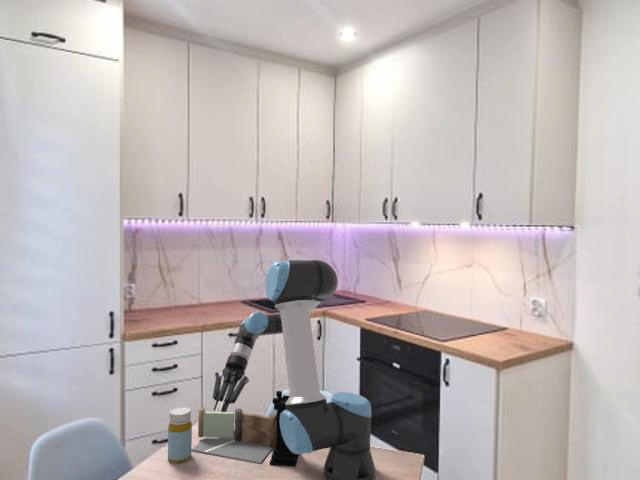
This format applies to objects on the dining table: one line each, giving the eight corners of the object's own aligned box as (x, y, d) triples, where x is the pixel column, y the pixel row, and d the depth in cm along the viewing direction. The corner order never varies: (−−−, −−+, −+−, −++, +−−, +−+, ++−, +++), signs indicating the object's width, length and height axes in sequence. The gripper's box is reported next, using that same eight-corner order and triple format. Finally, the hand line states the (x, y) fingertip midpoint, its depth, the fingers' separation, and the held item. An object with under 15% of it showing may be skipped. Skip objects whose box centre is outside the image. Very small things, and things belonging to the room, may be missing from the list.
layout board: (279, 439, 151) (279, 438, 151) (260, 463, 136) (260, 462, 136) (216, 429, 158) (216, 427, 158) (191, 450, 142) (191, 449, 142)
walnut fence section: (278, 444, 147) (278, 414, 147) (275, 447, 145) (276, 417, 144) (236, 437, 151) (237, 408, 151) (233, 440, 149) (233, 410, 149)
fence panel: (234, 434, 151) (234, 408, 150) (233, 437, 149) (233, 411, 148) (198, 434, 150) (199, 408, 150) (197, 437, 148) (197, 410, 148)
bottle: (191, 451, 142) (191, 405, 141) (191, 462, 135) (192, 414, 135) (167, 454, 140) (168, 407, 139) (167, 465, 133) (168, 416, 133)
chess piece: (299, 453, 142) (300, 391, 142) (295, 466, 134) (297, 401, 134) (274, 451, 143) (276, 390, 142) (269, 464, 135) (270, 400, 134)
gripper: (258, 365, 167) (237, 428, 152) (225, 361, 171) (202, 422, 156) (252, 355, 162) (230, 420, 147) (219, 351, 166) (194, 414, 151)
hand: (215, 421), depth 151 cm, fingers closed
